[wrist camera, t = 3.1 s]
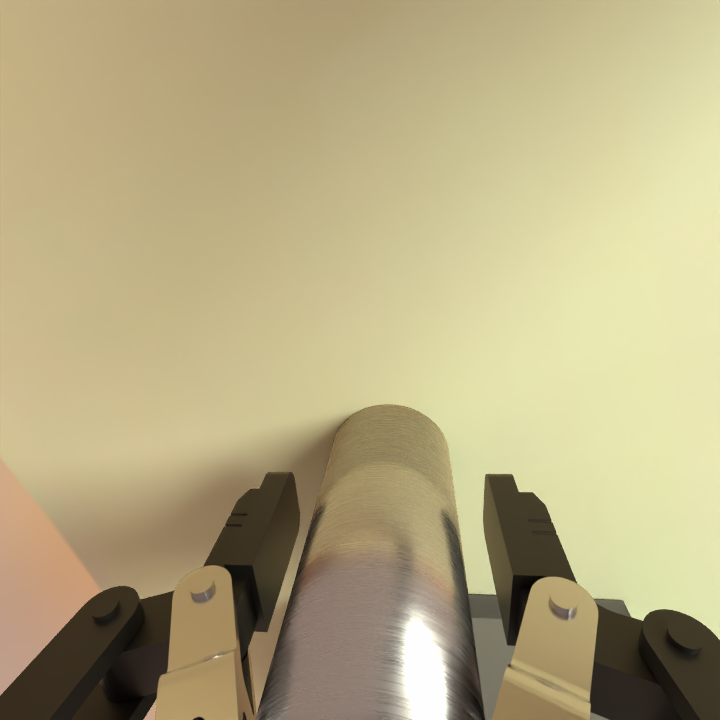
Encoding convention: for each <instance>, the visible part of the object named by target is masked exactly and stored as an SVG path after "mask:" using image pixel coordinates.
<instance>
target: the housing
mask: <svg viewBox="0 0 720 720" xmlns="http://www.w3.org/2000/svg"><path fill="white" fill-rule="evenodd" d="M468 596H469V603H470V610H471V618H472V625H473V632H474V639H475V647H476V654H477V661H478V669H479V676H480V683H481V690H482V698H483V705H484V712H485V720H492V717H493V713H494V710H495V706H496V702H497V699H498V695H499V691H500V688H501V684H502V681H503V677H504V674H505V670H506V668H507V665H508V664H511V661H512V657H513V653H514V650H515V646H507V643H506V638H505V633H504V628H503V623H502V618H501V613H500V608H499V604H498V599H497V595H472V594H468ZM594 601H595V603H597V604H598V605H600V606H602V607H604V608H606V609H608V610H610V611H613V612H615V613H619V614H622V615H625V616H628V617H631V616H630V614H629V612H628V610H627V608H626V606H625V604H624V602H623V600H598V599H594ZM590 720H609V719H606V718H604V717H601V716H599V715H596V714H594V713H591V712H590Z"/></svg>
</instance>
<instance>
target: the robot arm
mask: <svg viewBox="0 0 720 720" xmlns="http://www.w3.org/2000/svg"><path fill="white" fill-rule="evenodd" d="M299 524H300V511H299V505H298V498H297V492H296V486H295V479H294V475H293V473H292V472H268V473H267V474H266V476H265V478H264V480H263V482H262V485H261V487H260V489H250V490H249V491H248V492H246V493H245V494H244V495H243V496H242V497H241V498H240V499H239V500H238V501H237V503H236V505H235V507H234V509H233V511H232V513H231V516H229V518H228V520H227V522H226V526H225V527H224V528H223V530H222V532H221V534H220V536H219V537H218V539H217V541H216V543H215V545H214V547H213V549H212V551H211V553H210V555H209V557H208V559H207V560H206V562H205V564H204V566H203V567H201V568H198V569H196V570H194V571H192V572H191V573H189V574H188V575H186V576H185V577H184V578H183V579H182V580H181V581H180V582H179V584H178V585H177V587H176V588H175V590H174V591H172V592H168V593H165V594H161V595H157V596H153V597H149V598H145V599H141V600H140V599H139V596H138V593H137V592H136V591H135V589H133V588H131V587H128V586H118V587H113V588H110V589H107V590H105V591H103V592H101V593H99V594H97V595H96V596H94V597H93V598H92V599H90V600H89V601H88V602H87V603H86V604H85V605H84V606H83V607H82V608H81V609H80V610H79V611H78V612H77V613H76V614H75V616H74V617H73V618H72V619H71V620H70V621H69V622H68V623H67V624H66V625H65V626H64V628H62V630H61V631H60V632H59V633H58V634H57V635H56V636H55V637H54V638H53V639H52V640H51V642H50V643H49V644H48V645H47V646H46V647H45V648H44V649H43V650H42V651H41V652H40V654H39V655H38V656H37V657H36V658H35V659H34V660H33V661H32V662H31V663H30V664H29V666H27V667H26V669H25V670H24V671H23V672H22V673H21V674H20V675H19V676H18V677H17V678H16V679H15V680H14V682H13V683H12V684H11V685H10V686H9V687H8V688H7V689H6V690H5V691H4V692H3V694H2V695H1V696H0V720H143V719H144V718H145V716H146V714H147V713H148V711H149V710H150V708H151V707H152V705H153V703H154V702H155V700H156V699H157V702H156V715H155V720H255V719H256V715H257V713H256V704H255V694H254V685H253V676H252V666H251V657H250V650H249V644H250V641H251V638H252V635H253V632H254V631H258V632H267V631H268V628H269V625H270V621H271V618H272V615H273V612H274V609H275V605H276V602H277V599H278V596H279V592H280V589H281V586H282V583H283V580H284V576H285V573H286V570H287V567H288V563H289V560H290V557H291V554H292V551H293V547H294V544H295V541H296V538H297V534H298V531H299ZM483 524H484V534H485V540H486V545H487V550H488V555H489V560H490V564H491V569H492V574H493V579H494V584H495V589H496V594H497V599H498V604H499V608H500V613H501V618H502V623H503V628H504V633H505V638H506V643H507V646H515V650H514V653H513V657H512V661H511V664H508V665H507V668H506V670H505V674H504V677H503V681H502V684H501V688H500V691H499V695H498V699H497V702H496V706H495V710H494V713H493V717H492V720H590V712H591V713H594V714H596V715H599V716H601V717H604V718H606V719H609V720H720V640H719V639H718V638H717V637H716V635H715V634H714V633H713V632H712V631H711V630H709V629H708V628H707V627H706V626H705V625H703V624H702V623H701V622H699V621H697V620H696V619H694V618H692V617H690V616H688V615H686V614H683V613H680V612H677V611H673V610H666V609H662V610H655V611H652V612H650V613H649V614H648V615H646V617H645V618H644V621H641V620H638V619H635V618H631V617H628V616H625V615H622V614H619V613H615V612H613V611H610V610H608V609H606V608H604V607H602V606H600V605H598V604H597V603H595V601H594V599H593V598H592V596H591V595H590V594H589V593H588V592H587V591H586V590H585V589H584V588H582V587H581V586H580V585H578V584H577V582H576V580H575V577H574V575H573V572H572V570H571V567H570V565H569V562H568V560H567V557H566V555H565V553H564V550H563V548H562V545H561V543H560V540H559V538H558V535H556V530H555V528H554V525H553V523H552V522H551V518H550V515H549V513H548V511H547V508H546V506H545V504H544V503H543V502H542V501H541V500H540V499H539V498H538V497H537V496H536V495H535V494H534V493H533V492H518V489H517V486H516V483H515V480H514V477H513V475H512V474H486V475H485V488H484V510H483Z"/></svg>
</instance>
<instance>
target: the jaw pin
mask: <svg viewBox="0 0 720 720" xmlns="http://www.w3.org/2000/svg"><path fill="white" fill-rule="evenodd" d="M255 720H485V712H484V705H483V698H482V690H481V683H480V676H479V669H478V661H477V654H476V647H475V639H474V632H473V625H472V618H471V610H470V603H469V596H468V588H467V581H466V574H465V566H464V559H463V552H462V545H461V537H460V530H459V523H458V515H457V508H456V501H455V494H454V486H453V479H452V472H451V464H450V457H449V450H448V445H447V442H446V439H445V437H444V435H443V433H442V432H441V430H440V429H439V428H438V426H437V425H436V424H435V423H434V422H433V421H432V420H431V419H429V418H428V417H427V416H425V415H424V414H422V413H420V412H418V411H416V410H413V409H411V408H408V407H404V406H399V405H377V406H372V407H369V408H366V409H363V410H361V411H359V412H357V413H355V414H354V415H352V416H351V417H350V418H348V419H347V420H346V421H345V422H344V423H343V424H342V426H341V427H340V429H339V430H338V432H337V434H336V436H335V439H334V443H333V446H332V450H331V453H330V457H329V460H328V464H327V468H326V471H325V475H324V478H323V482H322V485H321V489H320V492H319V496H318V499H317V503H316V507H315V510H314V514H313V517H312V521H311V524H310V528H309V531H308V535H307V538H306V542H305V545H304V549H303V553H302V556H301V560H300V563H299V567H298V570H297V574H296V577H295V581H294V584H293V588H292V592H291V595H290V599H289V602H288V606H287V609H286V613H285V616H284V620H283V623H282V627H281V630H280V634H279V638H278V641H277V645H276V648H275V652H274V655H273V659H272V662H271V666H270V669H269V673H268V677H267V680H266V684H265V687H264V691H263V694H262V698H261V701H260V705H259V708H258V712H257V715H256V719H255Z"/></svg>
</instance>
